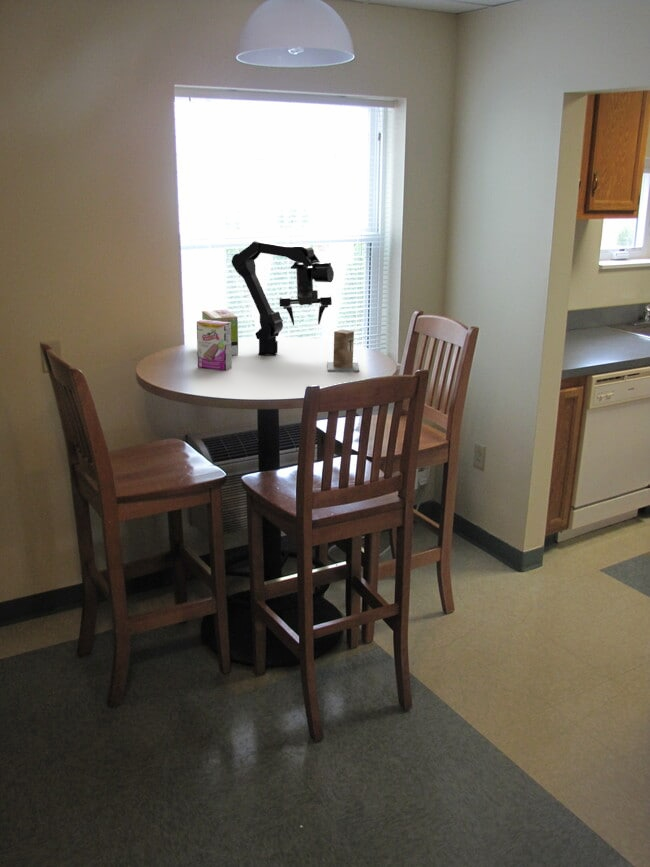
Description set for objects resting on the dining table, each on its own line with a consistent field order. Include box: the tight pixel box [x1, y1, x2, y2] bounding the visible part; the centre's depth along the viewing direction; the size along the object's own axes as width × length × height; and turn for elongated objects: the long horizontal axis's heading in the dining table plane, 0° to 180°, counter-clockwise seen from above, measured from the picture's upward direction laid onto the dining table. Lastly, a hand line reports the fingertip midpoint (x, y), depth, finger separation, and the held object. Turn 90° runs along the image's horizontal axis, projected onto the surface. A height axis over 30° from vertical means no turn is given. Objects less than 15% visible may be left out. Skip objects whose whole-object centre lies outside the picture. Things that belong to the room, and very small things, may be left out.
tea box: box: [201, 309, 239, 356], centre depth 288 cm, size 15×10×15 cm, turn 23°
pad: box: [327, 361, 360, 373], centre depth 271 cm, size 11×11×1 cm
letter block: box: [332, 329, 355, 369], centre depth 269 cm, size 6×5×12 cm
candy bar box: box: [196, 319, 233, 372], centre depth 264 cm, size 11×5×16 cm, turn 71°
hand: (306, 324), depth 278 cm, fingers open, 9 cm apart
